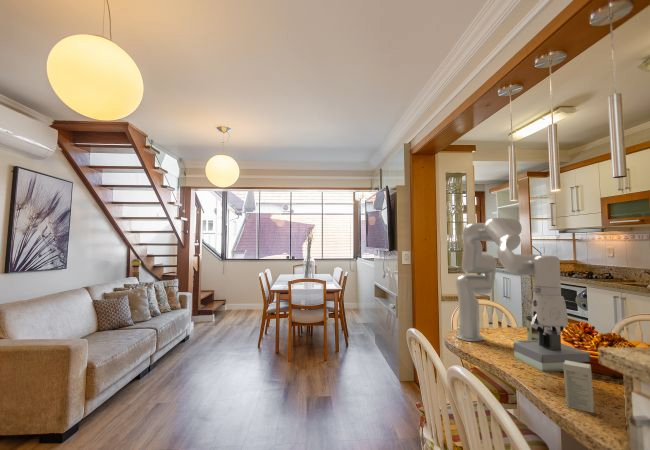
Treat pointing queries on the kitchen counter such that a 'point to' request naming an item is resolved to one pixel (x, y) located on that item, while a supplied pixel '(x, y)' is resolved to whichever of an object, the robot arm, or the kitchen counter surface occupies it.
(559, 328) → the robot arm
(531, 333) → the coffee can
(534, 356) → the lid
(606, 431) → the kitchen counter surface
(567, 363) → the skincare box
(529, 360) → the box
